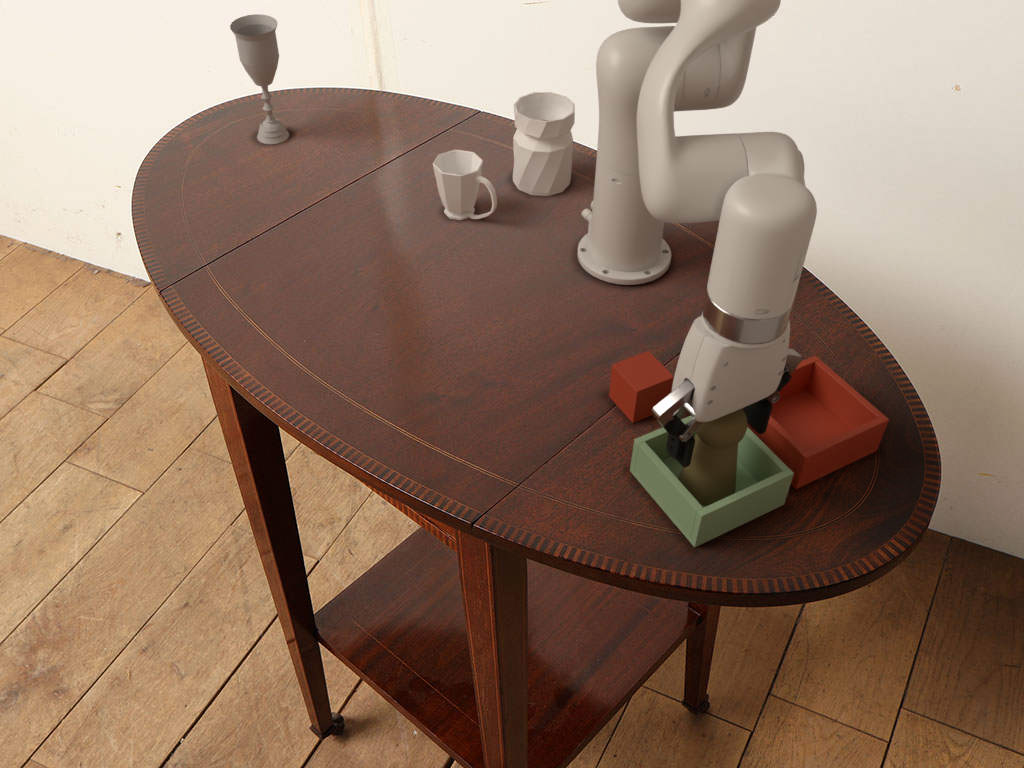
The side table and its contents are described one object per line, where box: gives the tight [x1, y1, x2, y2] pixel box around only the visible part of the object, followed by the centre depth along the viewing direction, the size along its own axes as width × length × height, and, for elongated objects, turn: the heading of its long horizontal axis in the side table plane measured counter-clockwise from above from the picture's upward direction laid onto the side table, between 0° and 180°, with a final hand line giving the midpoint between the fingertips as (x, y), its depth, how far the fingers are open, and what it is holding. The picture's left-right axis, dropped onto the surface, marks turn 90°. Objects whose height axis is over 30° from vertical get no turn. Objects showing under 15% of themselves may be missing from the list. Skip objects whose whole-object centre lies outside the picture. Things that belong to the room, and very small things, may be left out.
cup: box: [432, 149, 498, 221], centre depth 138 cm, size 7×10×8 cm
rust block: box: [608, 350, 674, 424], centre depth 112 cm, size 5×5×5 cm
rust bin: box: [742, 355, 890, 490], centre depth 108 cm, size 12×12×5 cm
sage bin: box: [629, 414, 794, 548], centre depth 103 cm, size 12×12×5 cm
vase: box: [512, 91, 576, 197], centre depth 143 cm, size 9×9×12 cm
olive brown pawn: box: [678, 408, 747, 506], centre depth 100 cm, size 6×6×11 cm
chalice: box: [229, 13, 290, 145], centre depth 149 cm, size 7×7×18 cm
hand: (716, 440), depth 99 cm, fingers open, 9 cm apart
